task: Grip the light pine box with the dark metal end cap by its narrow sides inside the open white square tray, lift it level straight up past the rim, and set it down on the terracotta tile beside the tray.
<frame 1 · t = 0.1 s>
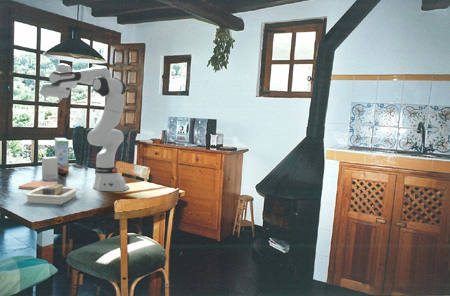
hand: (51, 101, 229), 54 cm above the table, tool tilted 30°, fingers open, 8 cm apart
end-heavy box: (52, 192, 176), in the white square tray
skincare box: (49, 179, 222), on the table
terracotta tile: (39, 186, 201), on the table
white square tray: (52, 199, 176), on the table
snack box: (61, 171, 253), on the table
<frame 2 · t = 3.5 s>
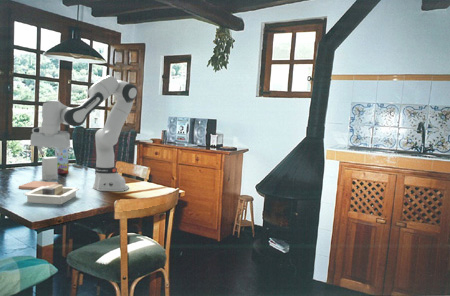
hand: (50, 155, 173), 25 cm above the table, tool pointing down, fingers open, 8 cm apart
nothing on the table moved.
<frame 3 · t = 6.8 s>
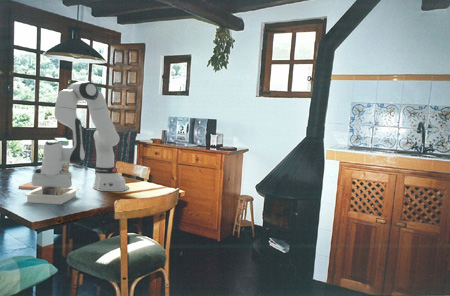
hand: (51, 194, 175), 3 cm above the table, tool pointing down, fingers closed on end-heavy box, 5 cm apart
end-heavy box: (52, 192, 176), in the white square tray, touching gripper
everything else where it was.
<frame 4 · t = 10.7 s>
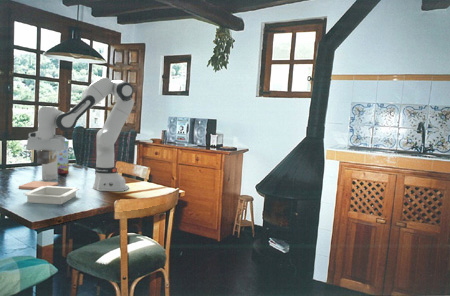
hand: (46, 158, 184), 21 cm above the table, tool pointing down, fingers closed on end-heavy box, 5 cm apart
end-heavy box: (47, 156, 185), point 22 cm above the table, touching gripper
everything else where it was.
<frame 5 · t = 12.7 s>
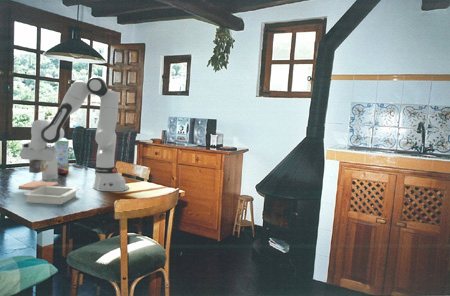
hand: (38, 167, 198), 13 cm above the table, tool pointing down, fingers closed on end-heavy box, 5 cm apart
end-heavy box: (39, 165, 199), point 13 cm above the table, touching gripper
everything else where it was.
when the fingers open (5 cm above the table, at t = 14.6 s): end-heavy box stays where it is, resting on terracotta tile.
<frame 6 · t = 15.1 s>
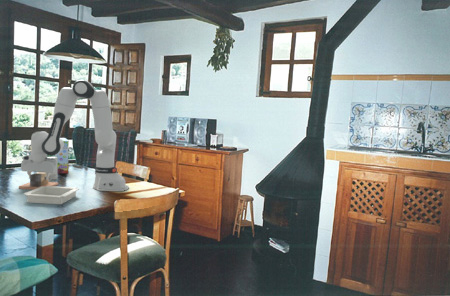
hand: (38, 179, 199), 5 cm above the table, tool pointing down, fingers open, 8 cm apart
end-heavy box: (39, 178, 200), on the terracotta tile, point 5 cm above the table
everything else where it was.
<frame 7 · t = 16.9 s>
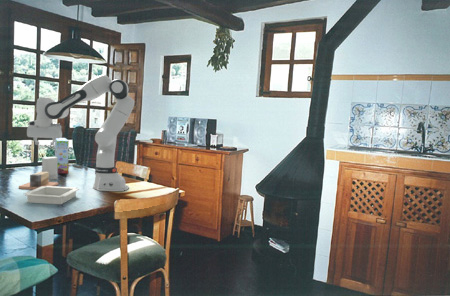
hand: (44, 144, 200), 26 cm above the table, tool pointing down, fingers open, 8 cm apart
nothing on the table moved.
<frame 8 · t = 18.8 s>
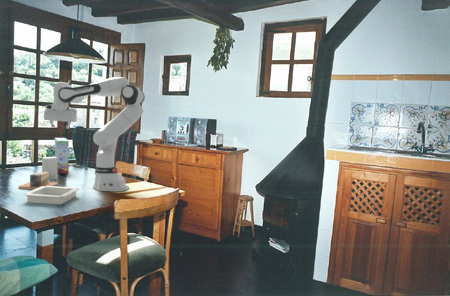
hand: (60, 128, 210), 37 cm above the table, tool pointing down, fingers open, 8 cm apart
nothing on the table moved.
at the end: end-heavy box inside the target area on the terracotta tile (0.1 cm from its centre), point 5.0 cm above the terracotta tile's base; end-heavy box tilted 0°; the gripper is holding nothing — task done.
